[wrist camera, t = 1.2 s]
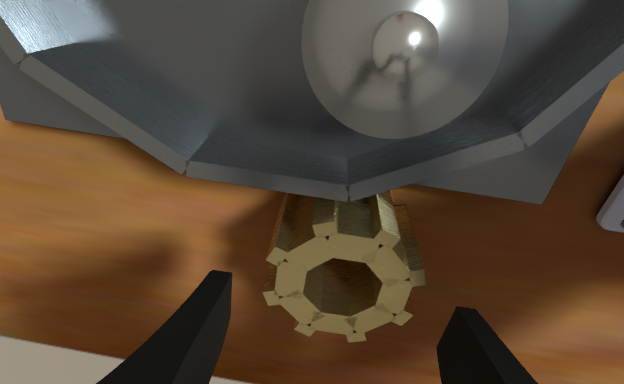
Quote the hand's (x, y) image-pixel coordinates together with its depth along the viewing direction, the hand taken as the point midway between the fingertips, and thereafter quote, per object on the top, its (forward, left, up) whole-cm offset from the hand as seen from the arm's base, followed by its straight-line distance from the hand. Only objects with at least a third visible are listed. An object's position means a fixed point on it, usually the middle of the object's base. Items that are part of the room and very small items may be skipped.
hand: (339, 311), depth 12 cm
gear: (0, 0, -5) cm, 5 cm away
